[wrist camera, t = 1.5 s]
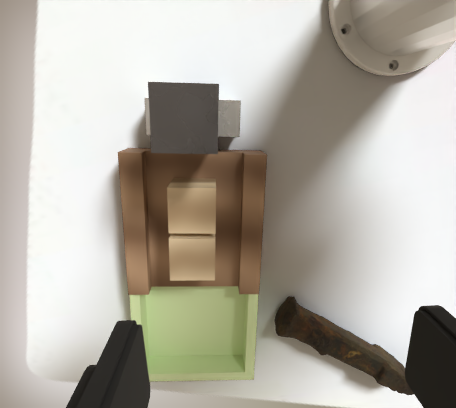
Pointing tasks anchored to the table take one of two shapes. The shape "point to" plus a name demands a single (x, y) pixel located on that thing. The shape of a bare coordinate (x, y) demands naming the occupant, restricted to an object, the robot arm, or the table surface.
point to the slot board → (225, 215)
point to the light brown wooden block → (191, 256)
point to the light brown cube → (192, 205)
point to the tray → (197, 332)
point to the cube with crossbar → (189, 117)
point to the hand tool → (340, 345)
